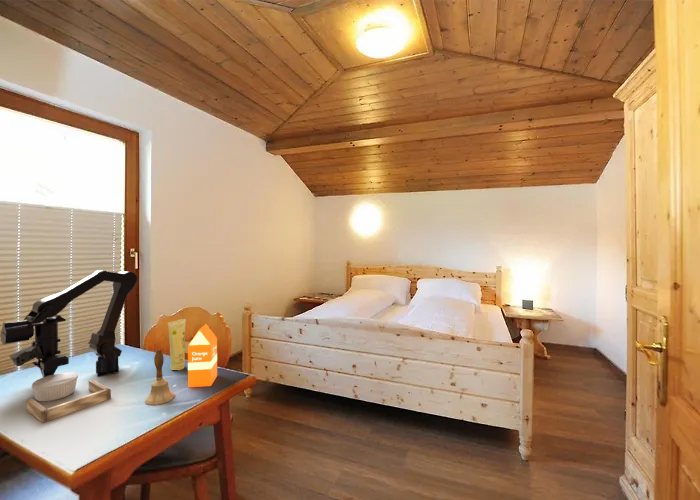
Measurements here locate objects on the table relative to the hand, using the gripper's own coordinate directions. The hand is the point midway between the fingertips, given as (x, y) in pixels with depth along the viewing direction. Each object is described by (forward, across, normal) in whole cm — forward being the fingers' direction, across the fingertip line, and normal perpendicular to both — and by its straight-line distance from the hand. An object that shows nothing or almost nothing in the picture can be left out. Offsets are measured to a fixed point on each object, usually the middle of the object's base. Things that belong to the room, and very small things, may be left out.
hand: (47, 382), depth 108 cm
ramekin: (+3, +7, 0) cm, 8 cm away
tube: (+3, +20, +33) cm, 39 cm away
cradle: (+2, +18, 0) cm, 18 cm away
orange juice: (+2, +39, +32) cm, 50 cm away
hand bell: (+2, +39, +17) cm, 42 cm away
